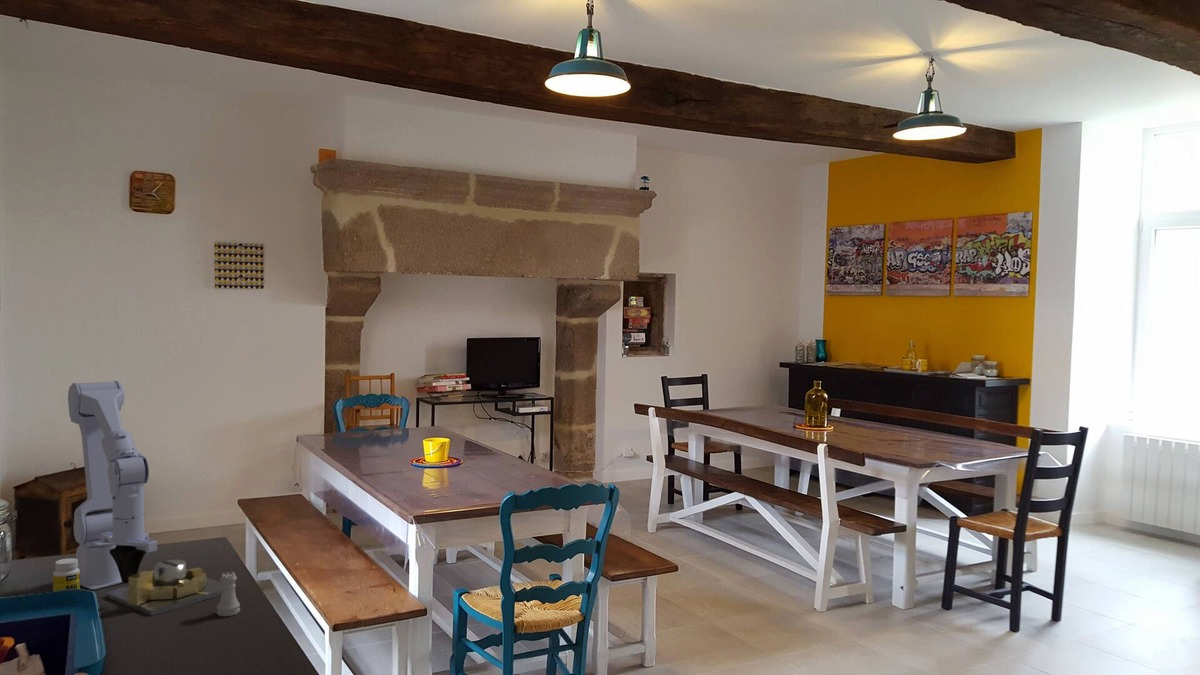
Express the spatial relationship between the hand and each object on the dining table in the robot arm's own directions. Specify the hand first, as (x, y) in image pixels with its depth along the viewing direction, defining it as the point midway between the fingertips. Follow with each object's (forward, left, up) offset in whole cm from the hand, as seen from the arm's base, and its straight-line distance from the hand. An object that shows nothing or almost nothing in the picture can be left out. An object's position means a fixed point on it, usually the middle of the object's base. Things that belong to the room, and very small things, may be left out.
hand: (128, 581), depth 179 cm
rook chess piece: (+20, +9, -5) cm, 23 cm away
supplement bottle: (-12, -7, -5) cm, 14 cm away
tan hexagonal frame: (+1, +6, -3) cm, 7 cm away
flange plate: (+1, +8, -5) cm, 9 cm away
